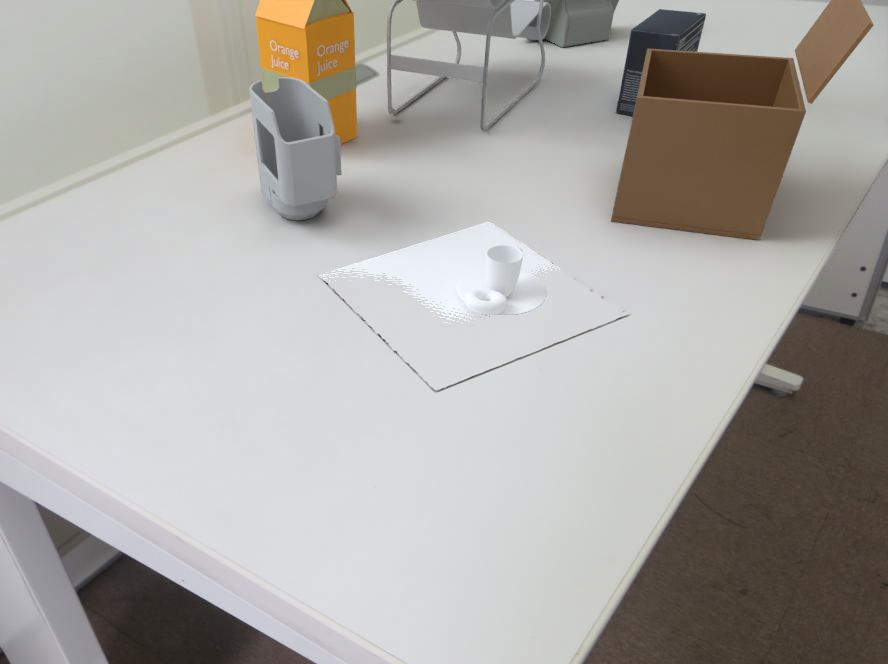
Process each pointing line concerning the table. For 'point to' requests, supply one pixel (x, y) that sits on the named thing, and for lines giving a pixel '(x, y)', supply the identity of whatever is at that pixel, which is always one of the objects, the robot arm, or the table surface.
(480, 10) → the chair
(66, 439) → the table surface
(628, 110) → the small box
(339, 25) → the orange juice
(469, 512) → the table surface
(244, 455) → the table surface
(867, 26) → the flap
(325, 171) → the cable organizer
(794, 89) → the carton
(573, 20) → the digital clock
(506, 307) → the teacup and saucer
